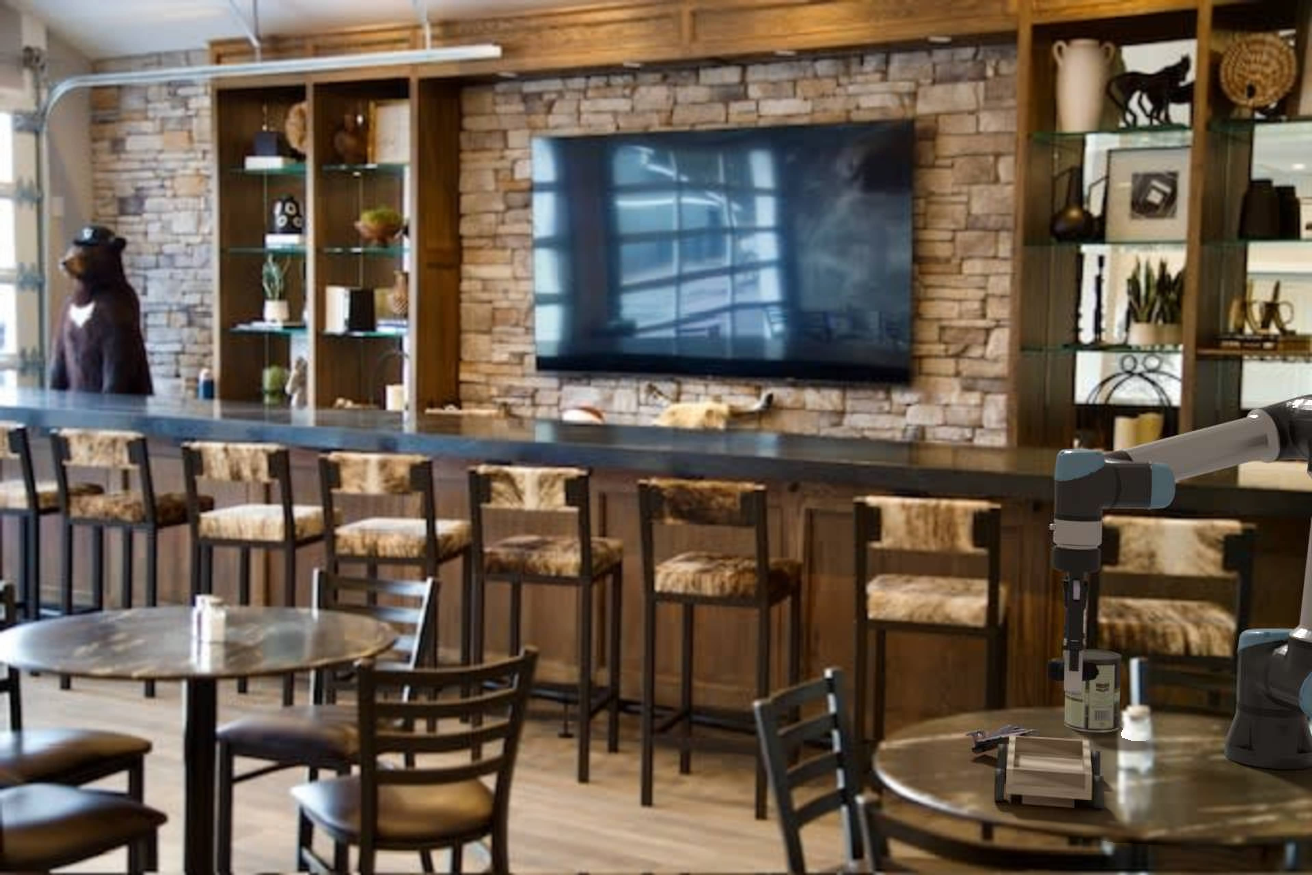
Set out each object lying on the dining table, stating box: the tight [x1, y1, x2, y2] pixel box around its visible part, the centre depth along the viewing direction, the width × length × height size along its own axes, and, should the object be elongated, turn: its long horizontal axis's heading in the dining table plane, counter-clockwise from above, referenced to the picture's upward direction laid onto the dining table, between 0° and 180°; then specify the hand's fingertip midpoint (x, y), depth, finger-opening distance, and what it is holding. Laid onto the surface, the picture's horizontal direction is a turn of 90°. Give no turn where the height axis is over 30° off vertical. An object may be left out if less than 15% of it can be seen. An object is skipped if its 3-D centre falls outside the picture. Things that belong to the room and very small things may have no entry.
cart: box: [993, 735, 1105, 810], centre depth 264 cm, size 22×17×6 cm
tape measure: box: [1046, 657, 1099, 683], centre depth 263 cm, size 7×7×4 cm
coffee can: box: [1064, 648, 1123, 733], centre depth 307 cm, size 10×10×14 cm
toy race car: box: [965, 724, 1040, 755], centre depth 282 cm, size 13×6×4 cm, turn 42°
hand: (1071, 684), depth 262 cm, fingers closed on tape measure, 9 cm apart
